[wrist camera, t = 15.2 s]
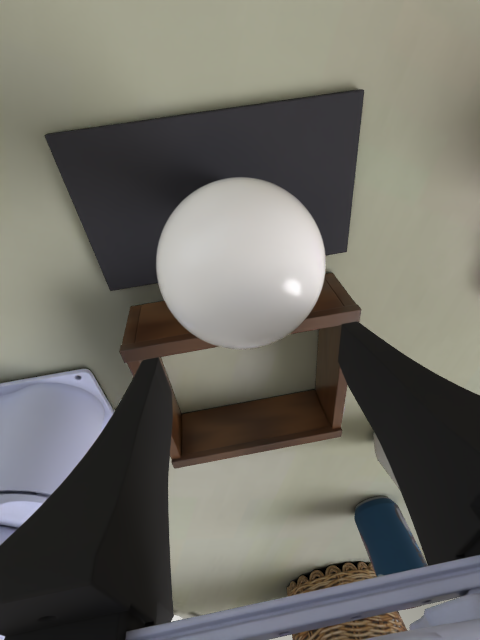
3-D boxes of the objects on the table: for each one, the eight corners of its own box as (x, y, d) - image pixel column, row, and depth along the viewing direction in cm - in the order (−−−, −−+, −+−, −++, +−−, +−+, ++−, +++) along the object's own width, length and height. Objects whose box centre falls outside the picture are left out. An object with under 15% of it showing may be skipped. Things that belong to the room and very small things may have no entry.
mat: (111, 287, 21) (110, 291, 21) (47, 133, 16) (43, 135, 15) (344, 249, 22) (347, 252, 22) (360, 89, 17) (364, 89, 16)
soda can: (342, 513, 51) (378, 613, 42) (369, 492, 48) (415, 596, 38) (375, 515, 53) (416, 609, 44) (403, 495, 50) (454, 593, 40)
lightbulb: (295, 176, 18) (397, 266, 10) (244, 267, 21) (285, 399, 13) (191, 116, 16) (201, 165, 7) (150, 230, 19) (122, 360, 10)
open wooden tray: (175, 420, 31) (174, 468, 27) (129, 304, 22) (118, 351, 19) (322, 393, 32) (341, 436, 28) (332, 271, 23) (361, 309, 19)
